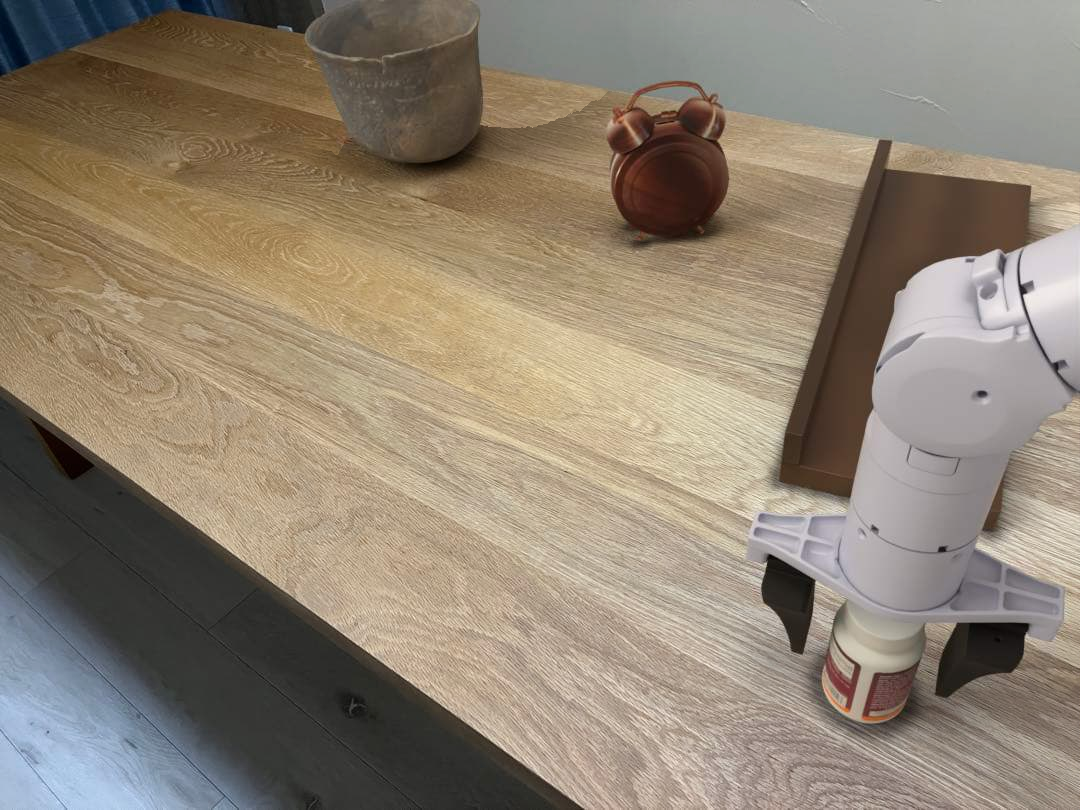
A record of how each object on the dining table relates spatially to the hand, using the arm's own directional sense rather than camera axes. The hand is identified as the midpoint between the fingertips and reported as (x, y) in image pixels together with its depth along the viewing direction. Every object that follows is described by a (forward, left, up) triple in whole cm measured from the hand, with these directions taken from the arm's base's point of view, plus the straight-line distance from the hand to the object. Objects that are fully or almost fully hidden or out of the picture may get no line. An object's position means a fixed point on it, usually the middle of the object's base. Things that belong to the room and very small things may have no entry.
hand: (870, 659), depth 51 cm
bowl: (+57, -50, -3) cm, 76 cm away
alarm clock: (+25, -42, -3) cm, 49 cm away
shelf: (+1, -34, -3) cm, 35 cm away
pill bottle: (0, 0, -3) cm, 3 cm away
